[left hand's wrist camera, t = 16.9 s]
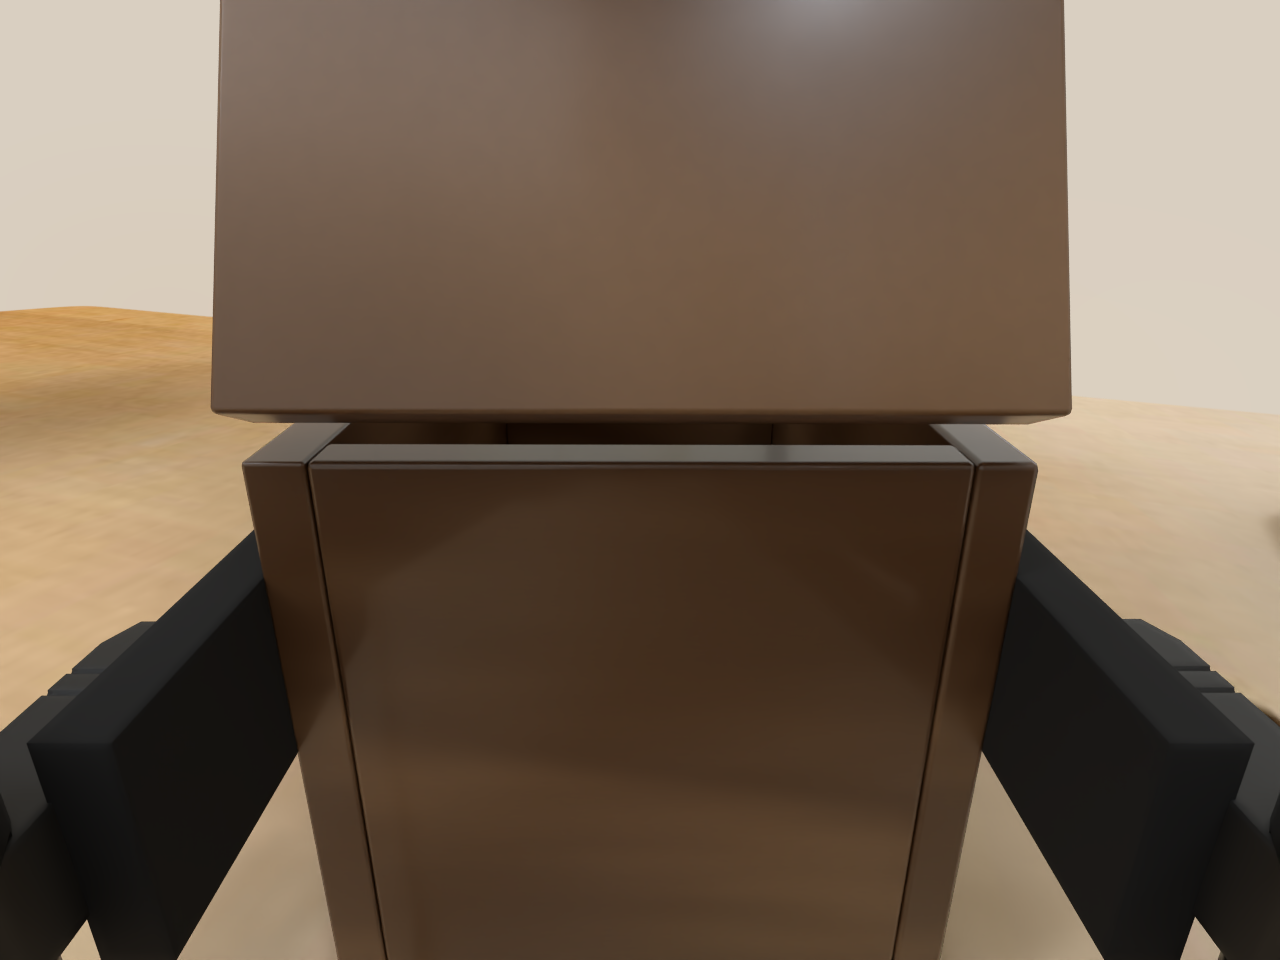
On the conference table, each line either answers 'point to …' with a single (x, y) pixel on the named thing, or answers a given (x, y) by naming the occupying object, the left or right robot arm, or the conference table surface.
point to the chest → (639, 679)
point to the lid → (641, 212)
